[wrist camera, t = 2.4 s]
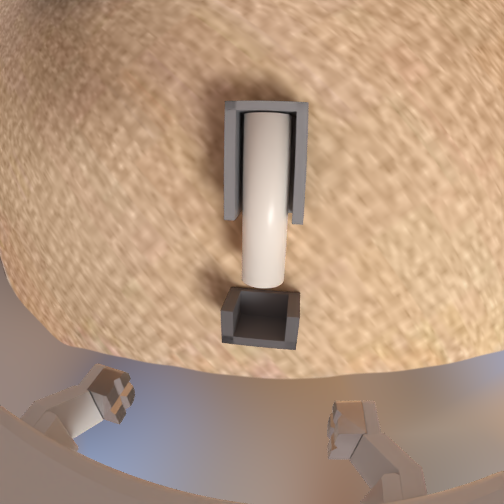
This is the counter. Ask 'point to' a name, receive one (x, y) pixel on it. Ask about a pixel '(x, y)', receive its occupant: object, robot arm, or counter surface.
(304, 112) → the sleeve
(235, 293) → the socket
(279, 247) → the slip tube
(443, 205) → the counter surface
